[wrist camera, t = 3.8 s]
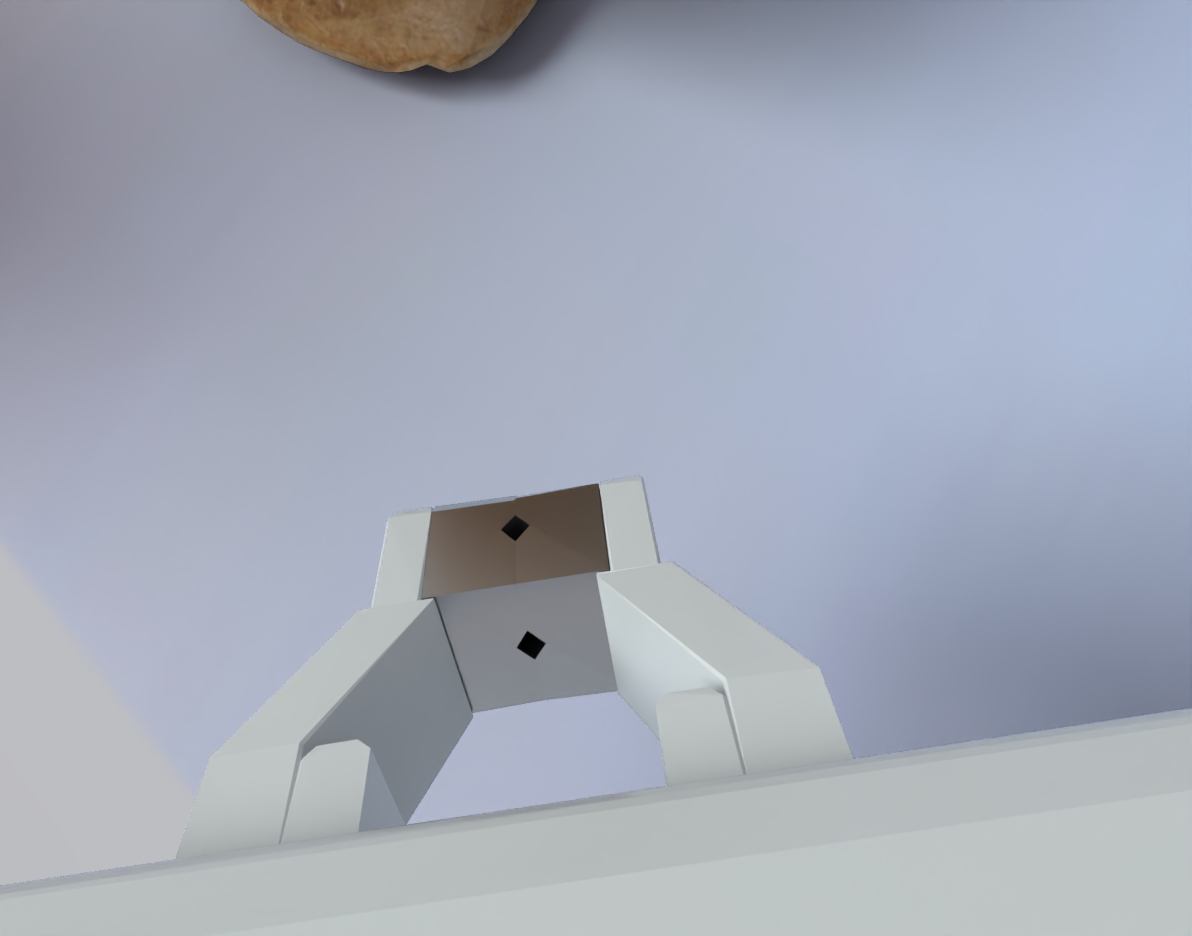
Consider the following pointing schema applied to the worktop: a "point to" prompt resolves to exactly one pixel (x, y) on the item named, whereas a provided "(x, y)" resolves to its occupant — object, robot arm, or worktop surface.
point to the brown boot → (398, 29)
